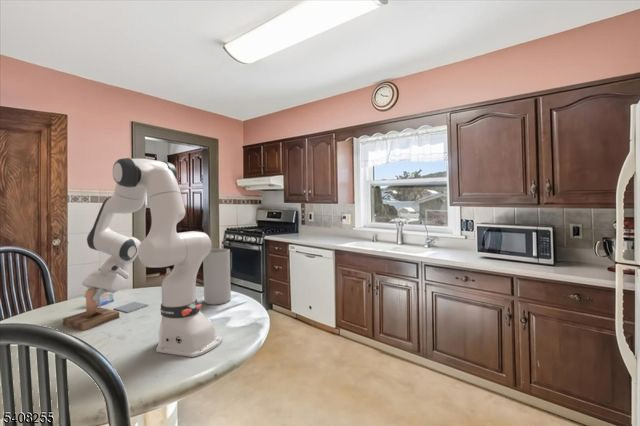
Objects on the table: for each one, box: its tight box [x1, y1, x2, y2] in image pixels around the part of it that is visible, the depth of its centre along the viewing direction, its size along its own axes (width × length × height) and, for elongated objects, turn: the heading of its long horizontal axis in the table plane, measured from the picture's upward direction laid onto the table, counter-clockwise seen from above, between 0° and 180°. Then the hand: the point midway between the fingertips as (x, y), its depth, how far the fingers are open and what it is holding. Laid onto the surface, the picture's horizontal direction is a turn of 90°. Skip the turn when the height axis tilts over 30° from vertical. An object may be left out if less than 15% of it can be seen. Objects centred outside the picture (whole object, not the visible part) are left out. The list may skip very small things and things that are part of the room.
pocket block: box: [62, 306, 120, 332], centre depth 131 cm, size 14×14×2 cm
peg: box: [85, 290, 98, 314], centre depth 130 cm, size 4×4×9 cm
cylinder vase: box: [202, 248, 232, 306], centre depth 154 cm, size 12×12×25 cm
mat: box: [113, 301, 149, 314], centre depth 146 cm, size 10×10×1 cm
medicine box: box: [96, 290, 115, 307], centre depth 152 cm, size 8×4×9 cm, turn 168°
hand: (89, 298), depth 130 cm, fingers closed on peg, 4 cm apart
